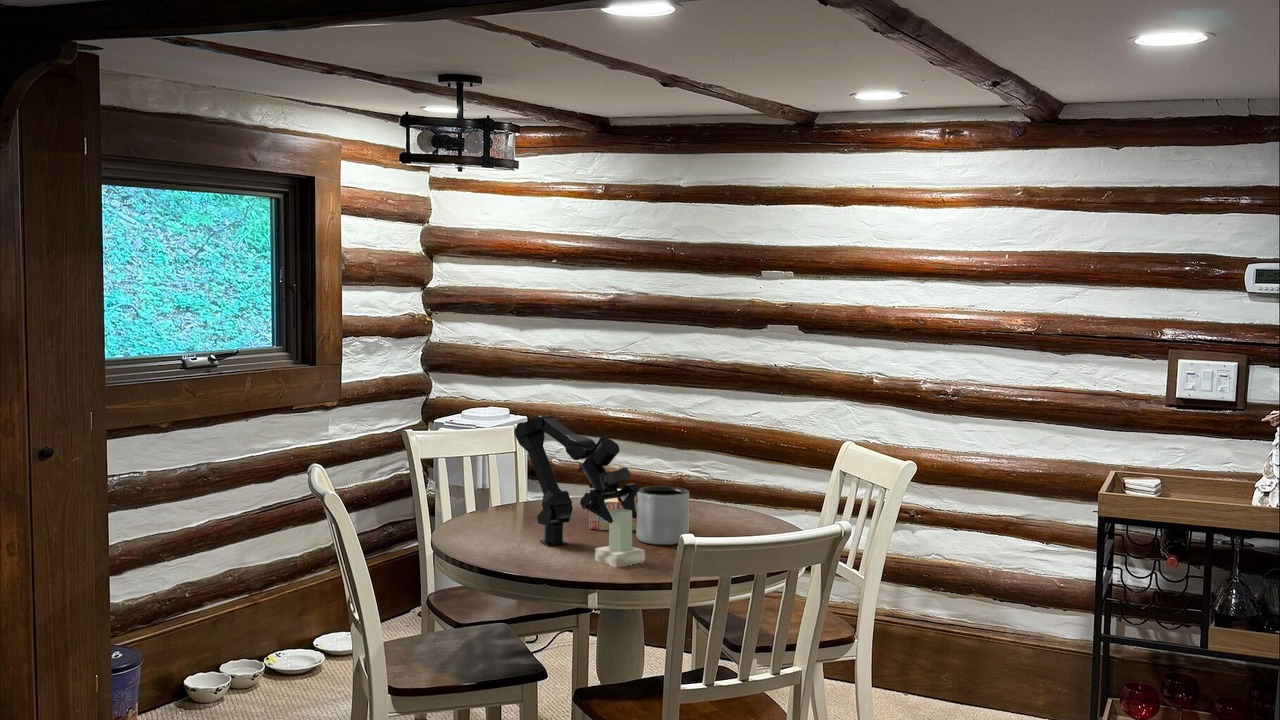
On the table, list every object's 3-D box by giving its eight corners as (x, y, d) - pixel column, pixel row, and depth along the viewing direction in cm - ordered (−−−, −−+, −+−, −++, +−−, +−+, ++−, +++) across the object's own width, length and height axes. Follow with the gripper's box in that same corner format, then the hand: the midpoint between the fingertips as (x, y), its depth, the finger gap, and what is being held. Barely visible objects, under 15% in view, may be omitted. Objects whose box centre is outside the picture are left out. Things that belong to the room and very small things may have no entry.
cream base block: (595, 562, 316) (595, 548, 315) (622, 557, 322) (623, 543, 322) (616, 569, 308) (616, 555, 308) (644, 564, 314) (645, 550, 314)
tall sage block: (608, 549, 315) (608, 510, 314) (620, 546, 318) (620, 508, 317) (620, 551, 312) (620, 513, 311) (632, 548, 315) (632, 510, 314)
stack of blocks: (588, 530, 355) (589, 492, 354) (588, 526, 361) (589, 488, 360) (656, 530, 356) (656, 492, 355) (654, 526, 362) (655, 489, 361)
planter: (682, 534, 351) (683, 485, 350) (693, 545, 336) (694, 494, 335) (632, 535, 349) (633, 485, 348) (641, 547, 333) (642, 495, 332)
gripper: (587, 462, 309) (613, 507, 302) (635, 455, 322) (662, 499, 315) (568, 486, 315) (593, 531, 308) (616, 478, 328) (642, 522, 321)
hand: (624, 520), depth 313 cm, fingers open, 9 cm apart
